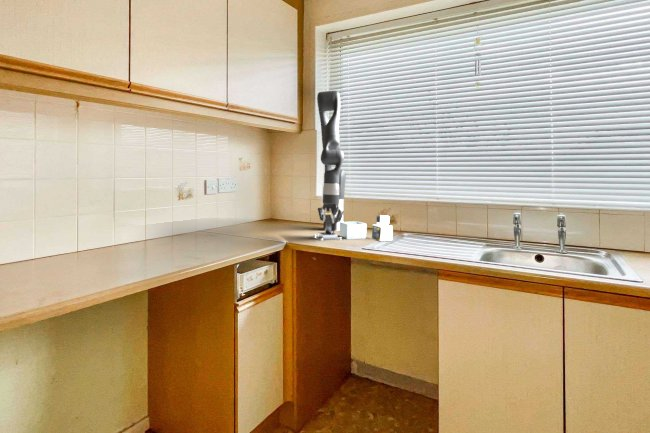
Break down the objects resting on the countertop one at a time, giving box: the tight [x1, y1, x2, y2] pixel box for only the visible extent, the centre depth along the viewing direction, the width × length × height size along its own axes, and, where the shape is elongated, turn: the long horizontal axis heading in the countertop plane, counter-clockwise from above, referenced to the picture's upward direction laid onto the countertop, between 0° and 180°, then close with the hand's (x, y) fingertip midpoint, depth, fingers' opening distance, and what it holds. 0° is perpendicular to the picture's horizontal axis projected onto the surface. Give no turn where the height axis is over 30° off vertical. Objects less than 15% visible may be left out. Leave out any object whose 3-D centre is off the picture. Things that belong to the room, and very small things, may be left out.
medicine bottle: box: [371, 214, 394, 242], centre depth 184 cm, size 7×7×12 cm
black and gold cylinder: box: [324, 211, 336, 235], centre depth 177 cm, size 5×5×13 cm
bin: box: [338, 221, 368, 240], centre depth 182 cm, size 9×10×8 cm
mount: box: [311, 231, 345, 242], centre depth 178 cm, size 12×12×3 cm
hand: (329, 230), depth 177 cm, fingers closed on black and gold cylinder, 4 cm apart
